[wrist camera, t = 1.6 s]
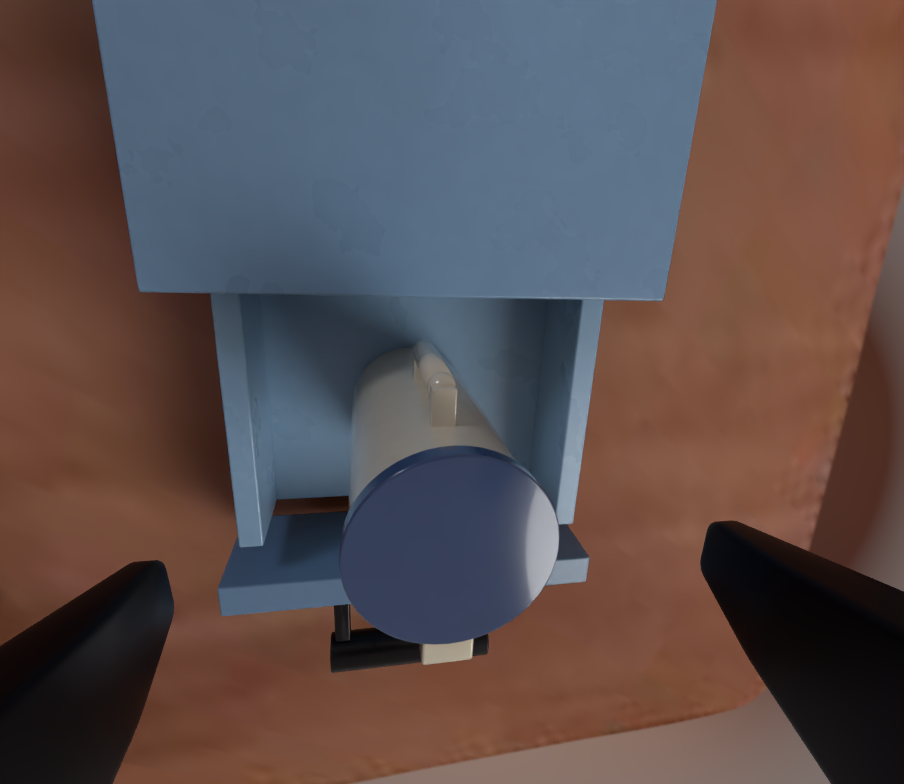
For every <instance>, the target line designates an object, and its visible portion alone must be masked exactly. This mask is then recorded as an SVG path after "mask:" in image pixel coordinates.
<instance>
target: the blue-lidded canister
mask: <svg viewBox="0 0 904 784" xmlns="http://www.w3.org/2000/svg"><path fill="white" fill-rule="evenodd" d="M559 539H560V533H559V523H558V519H557V515H556V511H555V509H554V506H553V504H552V502H551V500H550V498H549V497H548V495H547V493H546V492H545V490H544V489H543V487H542V486H541V484H540V483H539V482H538V480H537V479H536V478H535V477H534V476H533V475H532V474H531V472H530V471H528V470H527V469H526V468H525V467H524V466H522V465H521V464H520V463H518V462H517V461H516V460H515V458H514V457H513V455H512V454H511V452H510V451H509V449H508V448H507V446H506V445H505V443H504V442H503V440H502V439H501V437H500V436H499V434H498V433H497V431H496V430H495V428H494V426H493V425H492V423H491V422H490V420H489V419H488V417H487V416H486V414H485V413H484V411H483V410H482V408H481V407H480V405H479V404H478V402H477V401H476V399H475V398H474V396H473V395H472V393H471V392H470V390H469V389H468V387H467V386H466V384H465V383H464V381H463V380H462V378H461V377H460V375H459V374H458V372H457V371H456V369H455V368H454V367H453V366H452V365H451V364H450V363H449V362H448V361H447V360H446V359H445V358H443V357H442V356H440V355H439V353H438V351H437V350H436V348H435V347H434V345H433V344H432V343H430V342H429V341H420V342H418V343H417V344H416V345H415V346H414V347H413V348H401V349H396V350H393V351H390V352H387V353H385V354H383V355H381V356H379V357H378V358H376V359H375V360H373V361H372V362H371V363H370V364H369V365H368V366H367V367H366V368H365V369H364V370H363V372H362V373H361V375H360V376H359V378H358V380H357V382H356V384H355V387H354V390H353V396H352V416H351V446H350V475H349V504H348V514H347V516H346V519H345V522H344V525H343V527H342V533H341V538H340V549H339V570H340V578H341V581H342V585H343V588H344V590H345V592H346V595H347V597H348V599H349V601H350V602H351V603H352V605H353V606H354V608H355V609H356V611H357V612H358V613H359V614H360V615H361V616H362V617H363V618H364V619H365V620H366V621H367V622H369V623H370V624H371V625H372V626H374V627H375V628H377V629H378V630H380V631H382V632H384V633H385V634H388V635H390V636H392V637H395V638H397V639H401V640H404V641H408V642H413V643H419V648H420V655H421V662H422V663H423V664H424V665H427V664H435V663H444V662H452V661H460V660H469V659H471V658H472V655H473V641H474V638H477V637H480V636H483V635H485V634H488V633H490V632H492V631H494V630H496V629H498V628H500V627H502V626H503V625H505V624H507V623H508V622H510V621H511V620H513V619H514V618H515V617H517V616H518V615H519V614H520V613H522V612H523V611H524V610H525V609H526V608H527V607H528V606H529V605H530V604H531V603H532V602H533V601H534V600H535V599H536V597H537V596H538V595H539V594H540V592H541V591H542V589H543V588H544V586H545V585H546V583H547V582H548V580H549V578H550V576H551V573H552V571H553V569H554V566H555V563H556V560H557V555H558V550H559Z"/></svg>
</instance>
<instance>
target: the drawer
mask: <svg viewBox="0 0 904 784" xmlns="http://www.w3.org/2000/svg"><path fill="white" fill-rule="evenodd" d="M210 298H211V307H212V315H213V324H214V333H215V342H216V350H217V359H218V368H219V377H220V385H221V394H222V403H223V411H224V420H225V429H226V438H227V446H228V455H229V464H230V473H231V481H232V490H233V499H234V507H235V516H236V525H237V534H238V537H237V540H236V542H235V545H234V547H233V550H232V553H231V555H230V558H229V560H228V563H227V566H226V568H225V571H224V574H223V576H222V579H221V581H220V584H219V587H218V596H219V604H220V611H221V616H229V615H240V614H250V613H261V612H271V611H282V610H293V609H303V608H314V607H324V606H334V616H335V632H332V634H331V649H330V662H331V672H332V673H335V672H344V671H352V670H361V669H369V668H377V667H386V666H394V665H403V664H411V663H419V662H421V655H420V648H419V643H413V642H408V641H404V640H401V639H397V638H395V637H392V636H390V635H388V634H385V633H384V632H382V631H380V630H378V629H377V628H365V629H356V630H351V617H350V604H352V603H351V602H350V601H349V599H348V597H347V595H346V592H345V590H344V588H343V585H342V581H341V578H340V570H339V549H340V538H341V533H342V527H343V525H344V522H345V519H346V516H347V514H348V511H342V512H326V513H309V514H293V515H277V516H272V514H273V511H274V507H275V504H276V500H279V499H297V498H315V497H333V496H349V475H350V446H351V416H352V396H353V390H354V387H355V384H356V382H357V380H358V378H359V376H360V375H361V373H362V372H363V370H364V369H365V368H366V367H367V366H368V365H369V364H370V363H371V362H372V361H373V360H375V359H376V358H378V357H379V356H381V355H383V354H385V353H387V352H390V351H393V350H396V349H401V348H413V347H414V346H415V345H416V344H417V343H418V342H420V341H429V342H430V343H432V344H433V345H434V347H435V348H436V350H437V351H438V353H439V355H440V356H442V357H443V358H445V359H446V360H447V361H448V362H449V363H450V364H451V365H452V366H453V367H454V368H455V369H456V371H457V372H458V374H459V375H460V377H461V378H462V380H463V381H464V383H465V384H466V386H467V387H468V389H469V390H470V392H471V393H472V395H473V396H474V398H475V399H476V401H477V402H478V404H479V405H480V407H481V408H482V410H483V411H484V413H485V414H486V416H487V417H488V419H489V420H490V422H491V423H492V425H493V426H494V428H495V430H496V431H497V433H498V434H499V436H500V437H501V439H502V440H503V442H504V443H505V445H506V446H507V448H508V449H509V451H510V452H511V454H512V455H513V457H514V458H515V460H516V461H517V462H518V463H520V464H521V465H522V466H524V467H525V468H526V469H527V470H528V471H530V472H531V474H532V475H533V476H534V477H535V478H536V479H537V480H538V482H539V483H540V484H541V486H542V487H543V489H544V490H545V492H546V493H547V495H548V497H549V498H550V500H551V502H552V504H553V506H554V509H555V511H556V515H557V519H558V523H559V533H560V539H559V550H558V555H557V560H556V563H555V566H554V569H553V571H552V573H551V576H550V578H549V580H548V582H547V583H546V585H556V584H567V583H577V582H585V581H586V577H587V570H588V564H589V556H588V554H587V553H586V551H585V550H584V549H583V547H582V546H581V544H580V543H579V541H578V540H577V538H576V537H575V536H574V534H573V533H572V531H571V530H570V528H569V527H568V525H567V524H572V523H573V518H574V511H575V504H576V497H577V490H578V482H579V475H580V468H581V461H582V454H583V447H584V439H585V432H586V425H587V418H588V411H589V403H590V396H591V389H592V382H593V375H594V367H595V360H596V353H597V346H598V339H599V332H600V324H601V317H602V310H603V303H604V300H568V299H509V298H451V297H392V296H334V295H276V294H217V293H210ZM546 585H545V586H546ZM488 648H489V640H488V634H485V635H483V636H480V637H477V638H474V641H473V655H472V656H478V655H486V654H487V653H488Z"/></svg>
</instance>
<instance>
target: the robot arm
mask: <svg viewBox="0 0 904 784" xmlns="http://www.w3.org/2000/svg"><path fill="white" fill-rule="evenodd" d="M700 562H701V570H702V573H703V576H704V578H705V580H706V581H707V583H708V585H709V587H710V589H711V591H712V592H713V594H714V596H715V598H716V600H717V602H718V604H719V605H720V607H721V609H722V611H723V613H724V615H725V617H726V618H727V620H728V622H729V624H730V626H731V628H732V629H733V631H734V633H735V635H736V637H737V639H738V641H739V642H740V644H741V646H742V648H743V649H744V651H745V653H746V655H747V656H748V658H749V660H750V661H751V663H752V665H753V666H754V668H755V669H756V671H757V672H758V674H759V676H760V677H761V679H762V680H763V682H764V683H765V685H766V686H767V688H768V689H769V691H770V692H771V694H772V695H773V697H774V698H775V700H776V701H777V703H778V704H779V706H780V707H781V709H782V710H783V712H784V713H785V715H786V716H787V718H788V719H789V721H790V722H791V724H792V725H793V727H794V729H795V730H796V732H797V733H798V734H799V736H800V738H801V739H802V741H803V742H804V744H805V745H806V747H807V748H808V750H809V751H810V753H811V754H812V756H813V757H814V759H815V760H816V762H817V763H818V765H819V766H820V768H821V769H822V771H823V772H824V774H825V775H826V777H827V778H828V780H829V781H830V783H831V784H904V592H903V591H901V590H899V589H896V588H894V587H891V586H889V585H887V584H884V583H882V582H879V581H877V580H875V579H873V578H870V577H868V576H865V575H863V574H861V573H858V572H856V571H854V570H851V569H849V568H846V567H844V566H842V565H839V564H837V563H835V562H832V561H830V560H828V559H825V558H823V557H820V556H818V555H815V554H813V553H811V552H809V551H806V550H804V549H802V548H799V547H797V546H794V545H792V544H790V543H787V542H785V541H783V540H780V539H778V538H775V537H773V536H771V535H768V534H766V533H764V532H761V531H759V530H757V529H754V528H752V527H749V526H747V525H745V524H742V523H740V522H737V521H719V522H713V523H711V524H710V526H709V527H708V529H707V533H706V538H705V542H704V547H703V551H702V555H701V561H700ZM173 614H174V601H173V597H172V592H171V588H170V584H169V579H168V575H167V571H166V568H165V565H164V564H163V563H162V562H161V561H159V560H154V561H139V562H133V563H130V564H128V565H127V566H125V567H123V568H122V569H120V570H119V571H117V572H116V573H114V574H112V575H111V576H109V577H108V578H106V579H105V580H103V581H102V582H100V583H98V584H97V585H95V586H94V587H92V588H91V589H89V590H87V591H86V592H84V593H83V594H81V595H80V596H78V597H76V598H75V599H73V600H72V601H70V602H69V603H67V604H66V605H64V606H62V607H61V608H59V609H58V610H56V611H55V612H53V613H51V614H50V615H48V616H47V617H45V618H44V619H42V620H40V621H39V622H37V623H36V624H34V625H33V626H31V627H29V628H28V629H26V630H25V631H23V632H22V633H20V634H18V635H17V636H15V637H14V638H12V639H11V640H9V641H8V642H6V643H4V644H3V645H1V646H0V784H113V781H114V779H115V777H116V775H117V772H118V770H119V768H120V765H121V763H122V761H123V758H124V756H125V754H126V752H127V749H128V747H129V745H130V742H131V740H132V738H133V735H134V733H135V730H136V728H137V725H138V723H139V720H140V717H141V714H142V712H143V709H144V706H145V703H146V700H147V697H148V694H149V690H150V687H151V684H152V681H153V678H154V675H155V672H156V669H157V665H158V662H159V659H160V656H161V653H162V650H163V647H164V644H165V641H166V637H167V634H168V631H169V628H170V625H171V622H172V618H173Z"/></svg>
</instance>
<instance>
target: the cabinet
mask: <svg viewBox="0 0 904 784" xmlns="http://www.w3.org/2000/svg"><path fill="white" fill-rule="evenodd" d="M716 3H717V0H92V4H93V10H94V16H95V23H96V29H97V35H98V41H99V48H100V54H101V60H102V66H103V73H104V79H105V85H106V91H107V98H108V104H109V110H110V116H111V123H112V129H113V135H114V141H115V148H116V154H117V160H118V166H119V172H120V179H121V185H122V191H123V197H124V204H125V210H126V216H127V222H128V229H129V235H130V241H131V247H132V254H133V260H134V266H135V272H136V279H137V285H138V290H139V291H141V292H159V293H217V294H276V295H334V296H392V297H451V298H509V299H568V300H626V301H662V300H663V299H664V295H665V290H666V284H667V278H668V273H669V267H670V262H671V256H672V250H673V245H674V239H675V233H676V228H677V222H678V217H679V211H680V205H681V200H682V194H683V188H684V183H685V177H686V172H687V166H688V160H689V155H690V149H691V143H692V138H693V132H694V127H695V121H696V115H697V110H698V104H699V98H700V93H701V87H702V82H703V76H704V70H705V65H706V59H707V53H708V48H709V42H710V36H711V31H712V25H713V20H714V14H715V8H716Z"/></svg>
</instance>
